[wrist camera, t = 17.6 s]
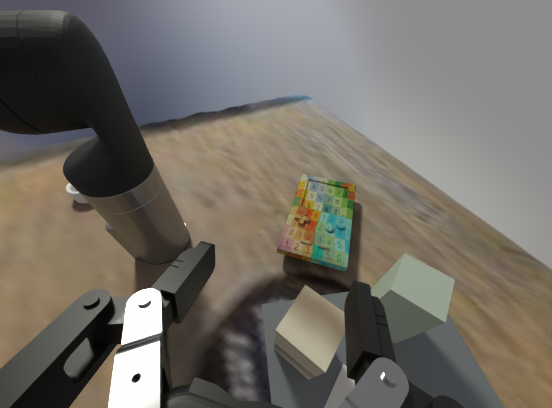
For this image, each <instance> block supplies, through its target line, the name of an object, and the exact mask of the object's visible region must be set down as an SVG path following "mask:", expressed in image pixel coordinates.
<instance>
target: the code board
mask: <svg viewBox="0 0 552 408" xmlns="http://www.w3.org/2000/svg"><path fill="white" fill-rule="evenodd" d="M371 289H372V288H370V290H371ZM348 293H349V292H342V293H336V294H329V295H322V297H323V298H325V299H326V300H327V301H329V302H330V303H332V304H333V305H335V306H336V307H337V308H339V309H340V310H342V311H343V312H344V305H345V300H346V297H347V295H348ZM295 300H296V299H295ZM295 300H289V301H282V302H275V303H269V304H262V313H263V323H264V333H265V343H266V353H267V363H268V373H269V383H270V393H271V403H272V404H274V405H277V406H280V407H282V408H338V407H339V406H340V404H341V403H342V402H343V400H344V399H345V398H346V397H347V396H348V395H349V393H350V392H351V391H352V389H353V388H354V387H355V380H353V379H350V378H347V365H346V341H345V333H344V335H343V337H342V340H341V342H340V344H339V346H338V348H337V350H336V352H335V354H334V356H333V358H332V360H331V362H330V364H329V367H328V369H327V371H326V373H323V374H321V375H319V376H316V377H314V378H312V379H310V380H308V379H307V378H305V377H304V376H303V375H302V374H301V373H300V372H299V371H298V370H296V369H295V368H294V367H293V366H292V365H291V364H290V363H289V362H288V361H286V360H285V359H284V358H283V357H282V356H281V355H280V354H279V353H277V352H276V351H275V350H274V343H275V330H276V328H277V327H278V325H279V324H280V322H281V321H282V319H283V318H284V316H285V315H286V313H287V312H288V310H289V309H290V307H291V306H292V304H293V303H294V301H295ZM392 345H393V349H394V354H395V358H396V362H397V364H398V366H399V367H400V368H401V369H402V371H403V372H404V374H405V375H406V377H407V379H408V380H409V381H410V382H411V383H412V384H414V385H415V386H417V387H418V388H420V389H421V390H423V391H424V392H426V393H427V394H429V395H431V396H432V397H434V398H436V397H437V396H440V395H445V396H448V397H450V398H452V399H454V400H456V401H457V402H458V403H460V404H461V405H462V406H463V407H464V408H504V407H503V405H502V403H501V402H500V400H499V398H498V397H497V395H496V393H495V392H494V390H493V388H492V387H491V385H490V383H489V382H488V380H487V378H486V377H485V375H484V373H483V372H482V370H481V368H480V367H479V365H478V363H477V362H476V360H475V358H474V357H473V355H472V353H471V352H470V350H469V348H468V347H467V345H466V343H465V342H464V340H463V339H462V337H461V335H460V334H459V332H458V330H457V329H456V327H455V325H454V324H453V322H452V320H451V319H450V317H449V315H448V314H447V318H446V323H443V324H441V325H439V326H436V327H434V328H432V329H429V330H427V331H424V332H422V333H420V334H417V335H415V336H413V337H410V338H408V339H405V340H403V341H401V342H398V343H396V344H394V343H393V342H392Z"/></svg>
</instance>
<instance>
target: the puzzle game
mask: <svg viewBox="0 0 552 408" xmlns="http://www.w3.org/2000/svg"><path fill="white" fill-rule="evenodd" d="M355 188H356V185H352V184H347V183H343V182H338V181H333V180H329V179H324V178H319V177H315V176H310V175H305V174H303V175H302V178H301V181H300V184H299V187H298V190H297V193H296V196H295V199H294V201H293V204H292V207H291V210H290V213H289V216H288V219H287V222H286V225H285V228H284V230H283V233H282V236H281V239H280V242H279V245H278V248H277V253H281V254H284V255H287V256H291V257H294V258H298V259H301V260H305V261H308V262H312V263H315V264H319V265H322V266H326V267H329V268H333V269H337V270H341V271H344V272H346V270H347V267H348V257H349V247H350V237H351V228H352V218H353V208H354V198H355Z"/></svg>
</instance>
